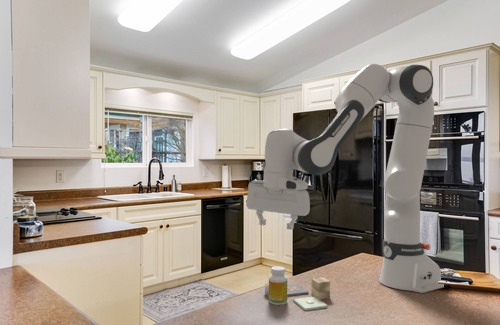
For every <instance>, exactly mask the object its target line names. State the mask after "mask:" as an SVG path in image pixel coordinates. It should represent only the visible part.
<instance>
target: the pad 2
mask: <svg viewBox="0 0 500 325" xmlns="http://www.w3.org/2000/svg"><path fill="white" fill-rule="evenodd" d="M293 302H294V303H295V304H296V305H297V306H299V307H300V308H301V309H302V310H303V311H311V310H319V309H326V308H327V309H328V304H326V303H325V302H324V301H322V299H318V298H316V297H315V296H310V297H309V296H306V297H299V298H293Z"/></svg>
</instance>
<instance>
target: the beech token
mask: <svg viewBox="0 0 500 325" xmlns="http://www.w3.org/2000/svg"><path fill="white" fill-rule="evenodd" d="M314 296H315V297H316V298H318V299H319V300H326V299H331V281H330V280H329V279H327V278H325V277H324V276H323V277H313V278H311V297H314Z"/></svg>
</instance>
